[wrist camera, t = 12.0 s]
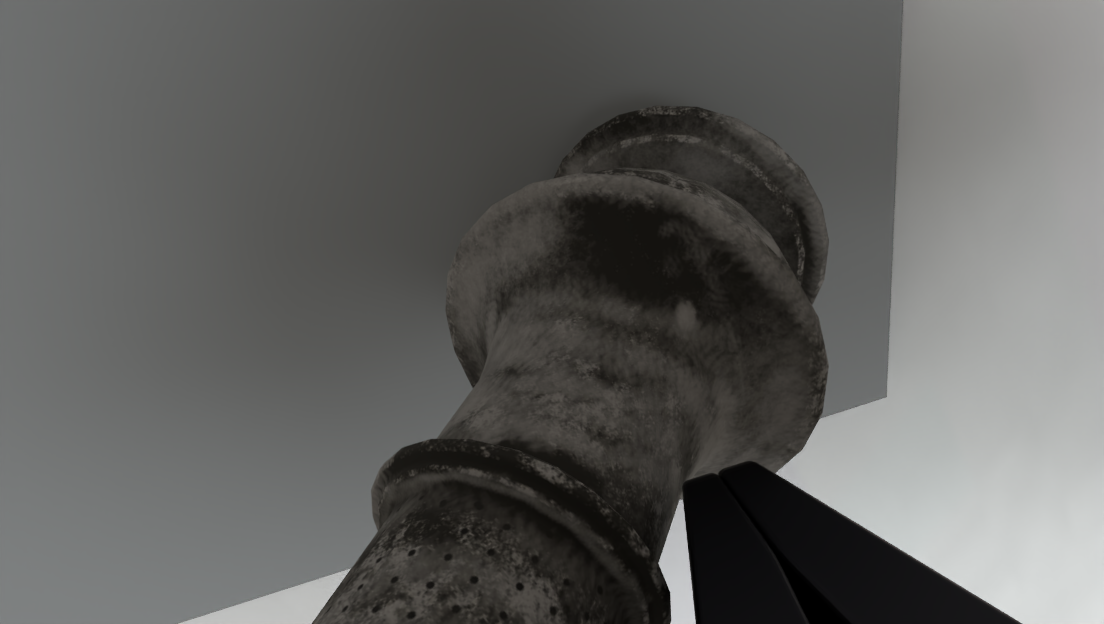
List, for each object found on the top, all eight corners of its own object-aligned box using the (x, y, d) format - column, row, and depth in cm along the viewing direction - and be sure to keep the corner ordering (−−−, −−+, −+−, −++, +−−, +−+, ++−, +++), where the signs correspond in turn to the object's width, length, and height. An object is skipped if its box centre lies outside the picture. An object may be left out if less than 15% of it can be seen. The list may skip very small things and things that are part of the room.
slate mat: (896, -438, 11) (922, -454, 10) (873, 383, 19) (886, 396, 19) (-671, -76, 9) (-730, -74, 9) (42, 648, 18) (32, 670, 17)
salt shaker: (608, 388, 16) (228, 1140, 7) (481, 153, 14) (-289, 815, 5) (890, 343, 13) (824, 1607, 4) (781, 28, 11) (102, 1263, 2)
